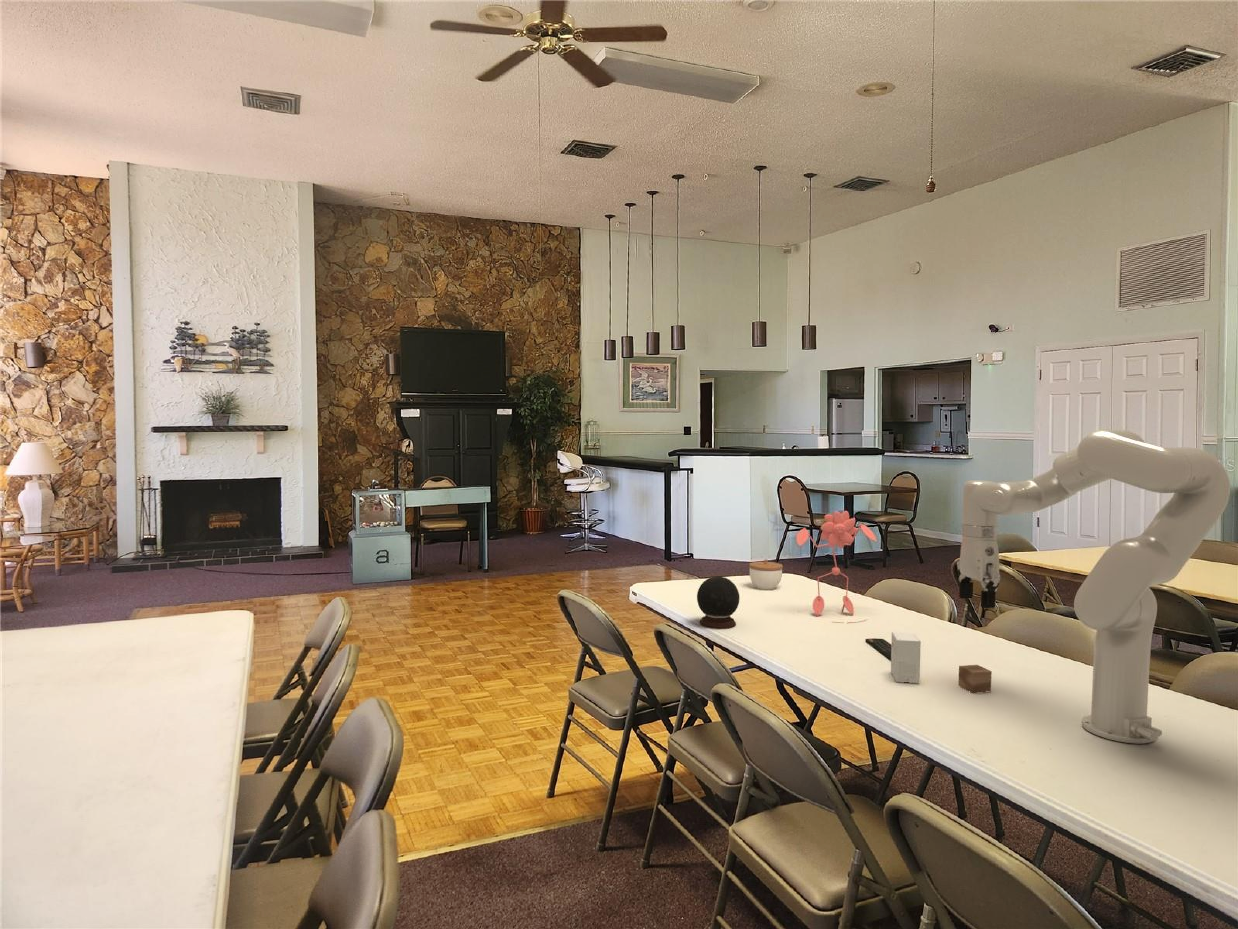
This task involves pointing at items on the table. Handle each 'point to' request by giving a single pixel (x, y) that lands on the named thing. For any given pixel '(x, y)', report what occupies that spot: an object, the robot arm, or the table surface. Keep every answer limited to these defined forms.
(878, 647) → the remote control
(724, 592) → the black ball on stand
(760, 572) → the lidded bowl
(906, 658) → the small box
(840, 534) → the pink flower doll
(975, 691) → the walnut cube
